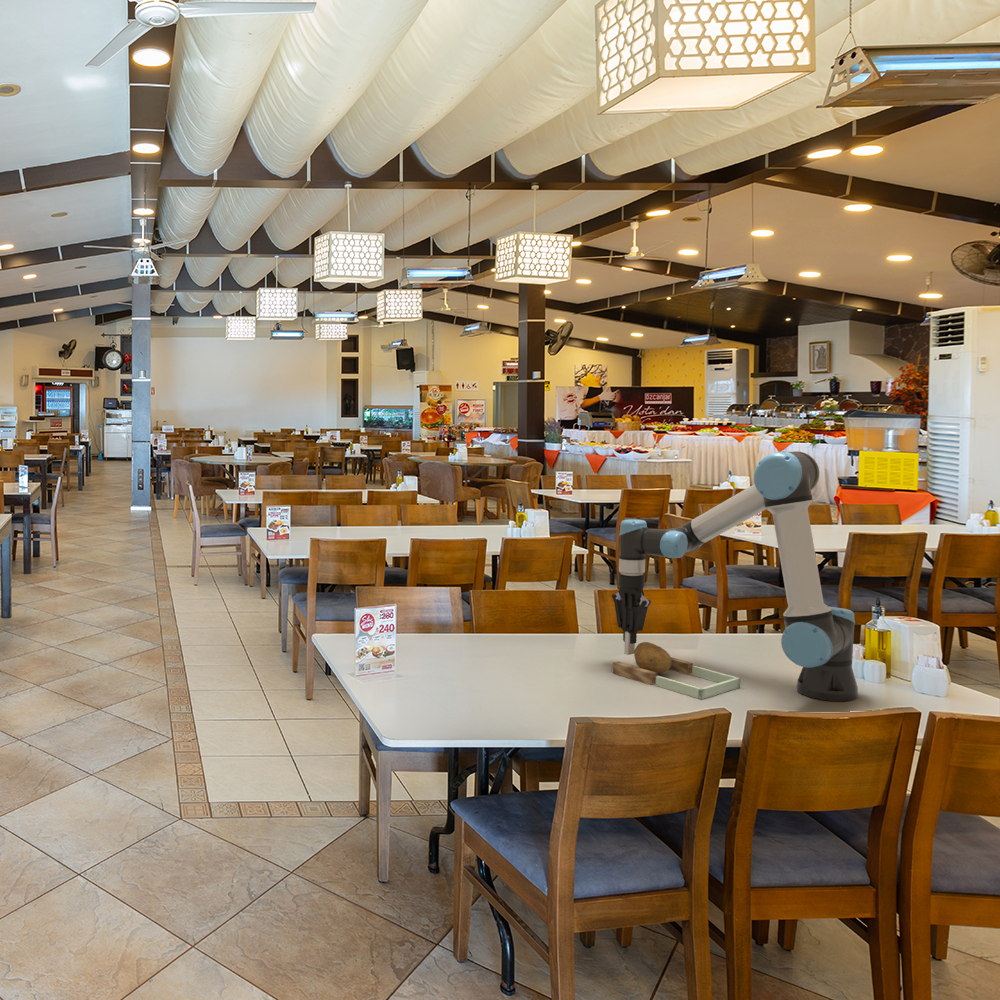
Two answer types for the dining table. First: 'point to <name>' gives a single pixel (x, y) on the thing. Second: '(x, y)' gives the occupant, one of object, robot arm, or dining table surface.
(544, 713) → the dining table surface
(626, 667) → the channel
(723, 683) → the frame
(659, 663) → the potato
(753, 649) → the dining table surface
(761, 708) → the dining table surface
